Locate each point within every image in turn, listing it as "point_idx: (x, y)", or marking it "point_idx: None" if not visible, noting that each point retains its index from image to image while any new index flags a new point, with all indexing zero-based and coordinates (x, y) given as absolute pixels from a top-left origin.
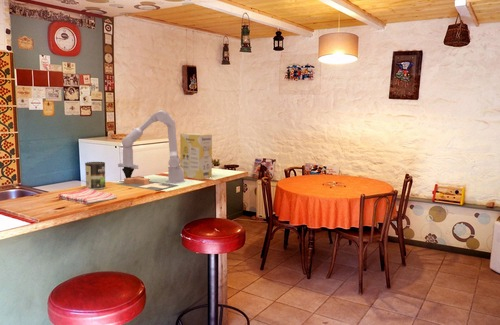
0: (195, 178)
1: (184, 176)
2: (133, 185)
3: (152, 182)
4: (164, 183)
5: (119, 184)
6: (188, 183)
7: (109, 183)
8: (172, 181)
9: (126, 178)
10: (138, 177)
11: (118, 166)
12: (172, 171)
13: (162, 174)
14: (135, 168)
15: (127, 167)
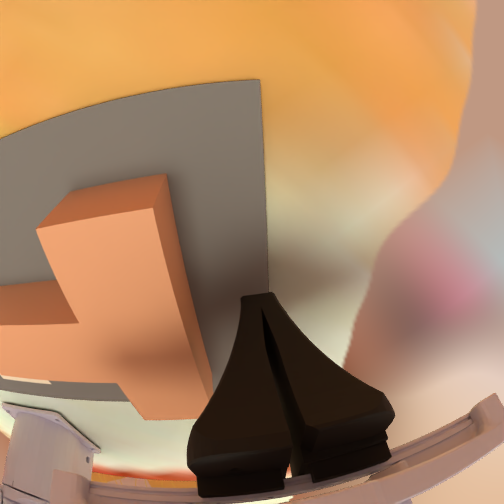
0: (105, 474)
1: (169, 481)
2: (3, 200)
3: (73, 383)
4: (13, 388)
5: (179, 91)
6: (9, 424)
7: (402, 101)
8: (18, 417)
9: (153, 256)
10: (128, 382)
11: (493, 400)
12: (7, 470)
13: (290, 467)
14: (58, 478)
15: (306, 479)
